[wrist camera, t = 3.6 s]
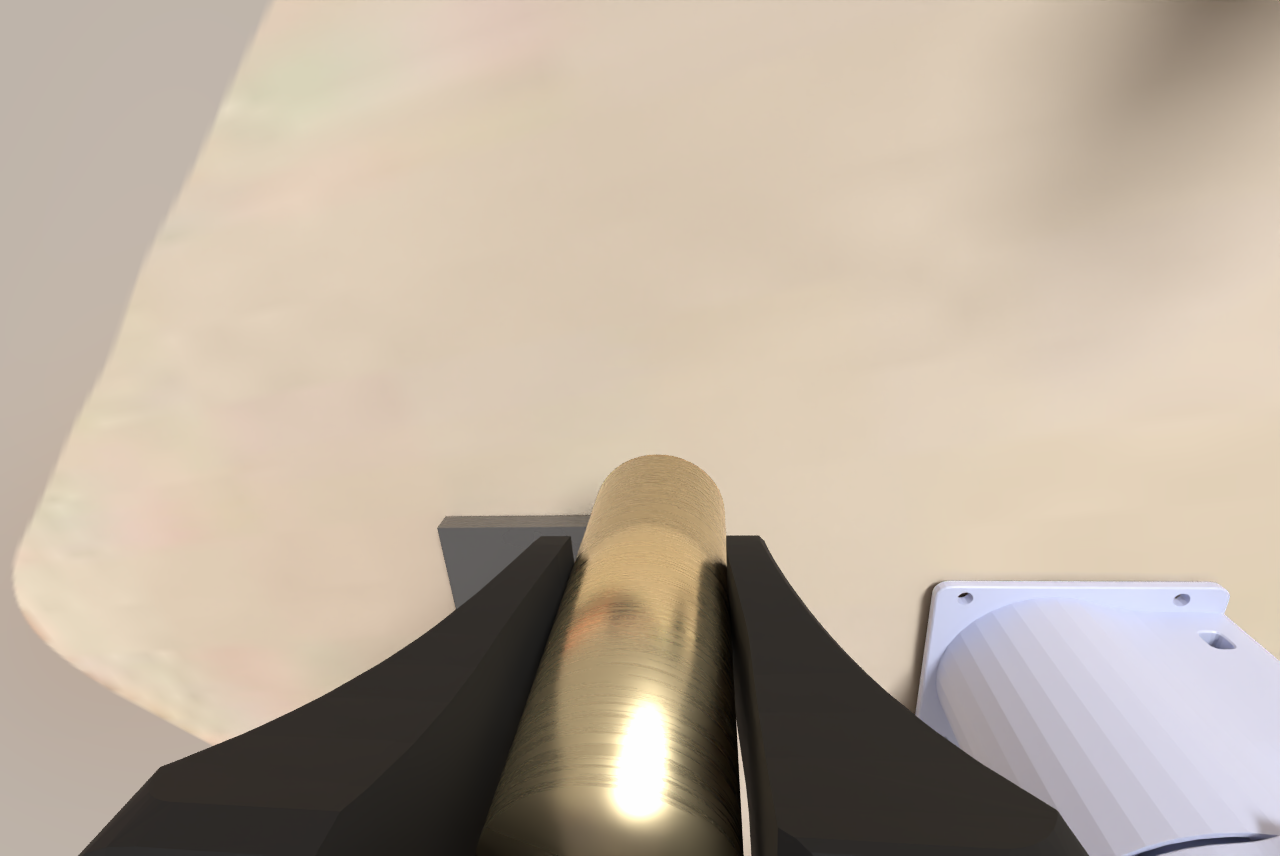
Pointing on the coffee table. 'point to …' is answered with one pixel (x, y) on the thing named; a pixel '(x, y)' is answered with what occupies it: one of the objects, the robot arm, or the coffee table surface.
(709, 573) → the hinge pin
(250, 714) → the coffee table surface
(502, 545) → the hinge
